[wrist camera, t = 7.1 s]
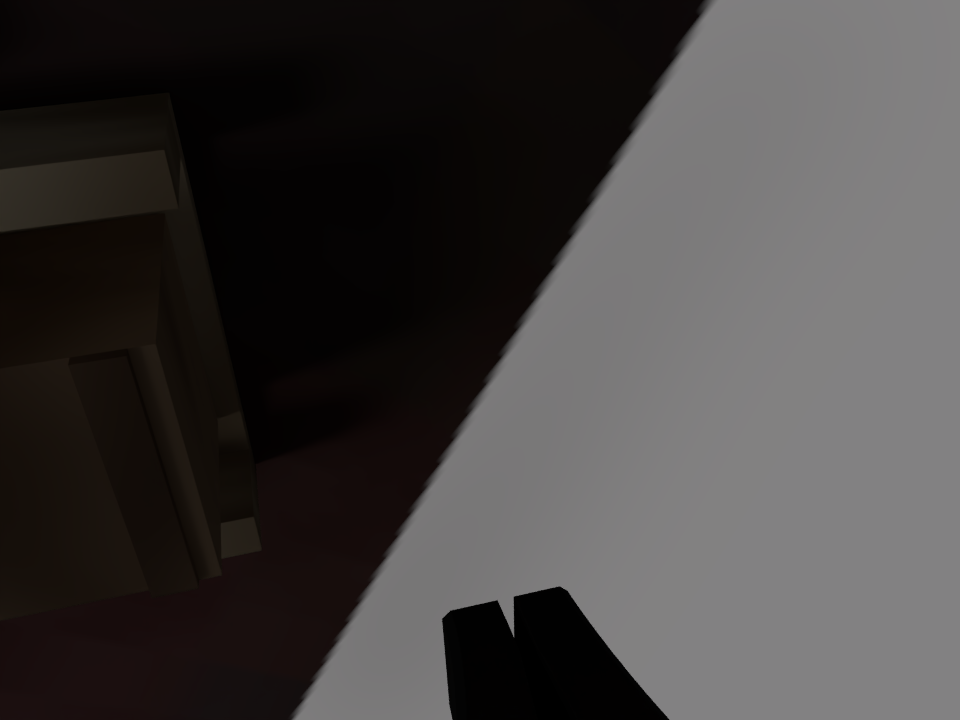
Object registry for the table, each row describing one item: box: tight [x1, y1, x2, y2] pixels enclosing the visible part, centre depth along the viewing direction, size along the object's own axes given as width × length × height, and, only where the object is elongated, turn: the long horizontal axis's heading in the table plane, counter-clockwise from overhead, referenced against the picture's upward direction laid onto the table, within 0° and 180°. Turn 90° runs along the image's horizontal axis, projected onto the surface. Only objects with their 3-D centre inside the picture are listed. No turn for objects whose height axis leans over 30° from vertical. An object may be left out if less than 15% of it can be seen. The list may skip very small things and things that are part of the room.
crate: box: [0, 213, 222, 621], centre depth 16 cm, size 6×5×5 cm
